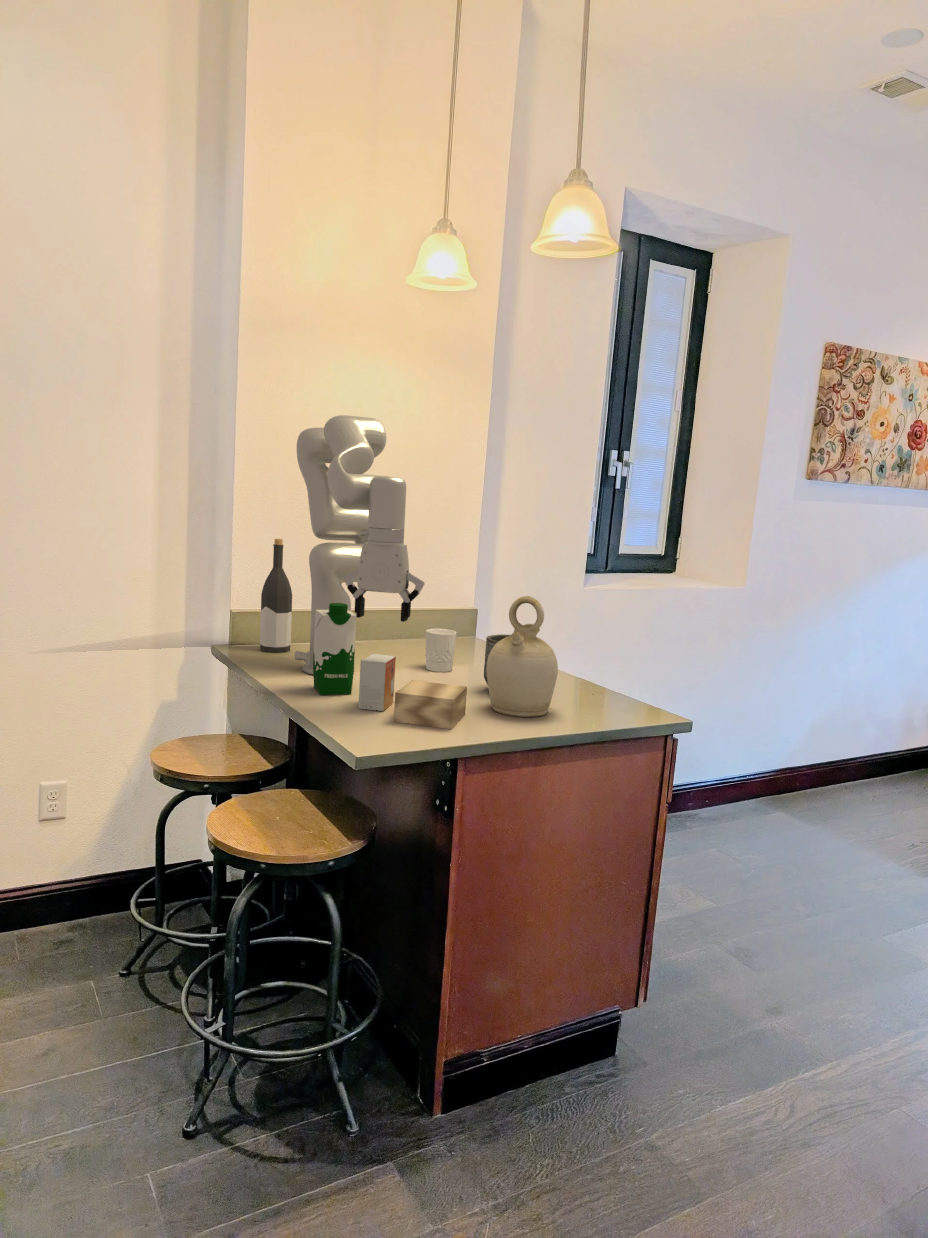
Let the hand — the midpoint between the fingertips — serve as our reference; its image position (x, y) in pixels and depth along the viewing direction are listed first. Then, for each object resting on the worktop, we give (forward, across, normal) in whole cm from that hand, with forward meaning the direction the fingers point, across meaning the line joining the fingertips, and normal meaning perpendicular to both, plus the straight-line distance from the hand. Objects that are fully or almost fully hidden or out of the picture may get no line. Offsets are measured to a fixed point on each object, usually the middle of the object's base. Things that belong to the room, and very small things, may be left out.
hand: (382, 618), depth 185 cm
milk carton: (+19, -13, +8) cm, 24 cm away
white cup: (+19, +3, +42) cm, 46 cm away
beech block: (+19, +12, -4) cm, 23 cm away
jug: (+19, +29, +11) cm, 36 cm away
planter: (+19, +24, +26) cm, 40 cm away
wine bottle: (+18, -43, +43) cm, 64 cm away
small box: (+19, 0, 0) cm, 19 cm away
